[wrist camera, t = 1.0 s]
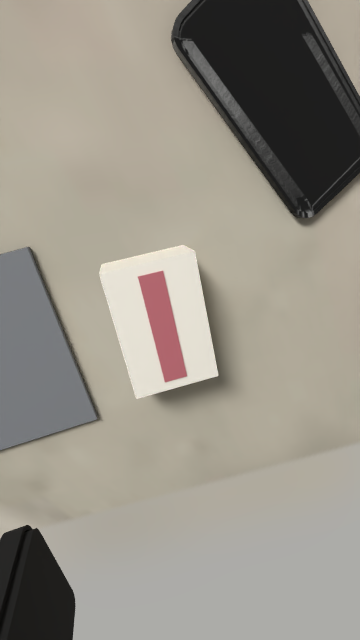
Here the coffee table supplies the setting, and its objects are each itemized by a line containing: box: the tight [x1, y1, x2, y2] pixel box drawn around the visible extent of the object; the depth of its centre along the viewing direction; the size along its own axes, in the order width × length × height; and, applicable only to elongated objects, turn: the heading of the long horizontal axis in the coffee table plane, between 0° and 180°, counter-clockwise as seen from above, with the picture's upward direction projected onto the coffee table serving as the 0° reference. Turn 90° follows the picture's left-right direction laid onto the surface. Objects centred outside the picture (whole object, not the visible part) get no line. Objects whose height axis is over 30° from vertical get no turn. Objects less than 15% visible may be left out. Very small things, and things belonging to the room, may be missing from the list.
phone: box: [171, 0, 360, 218], centre depth 22 cm, size 8×1×15 cm
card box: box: [99, 245, 218, 399], centre depth 24 cm, size 6×9×4 cm, turn 13°
